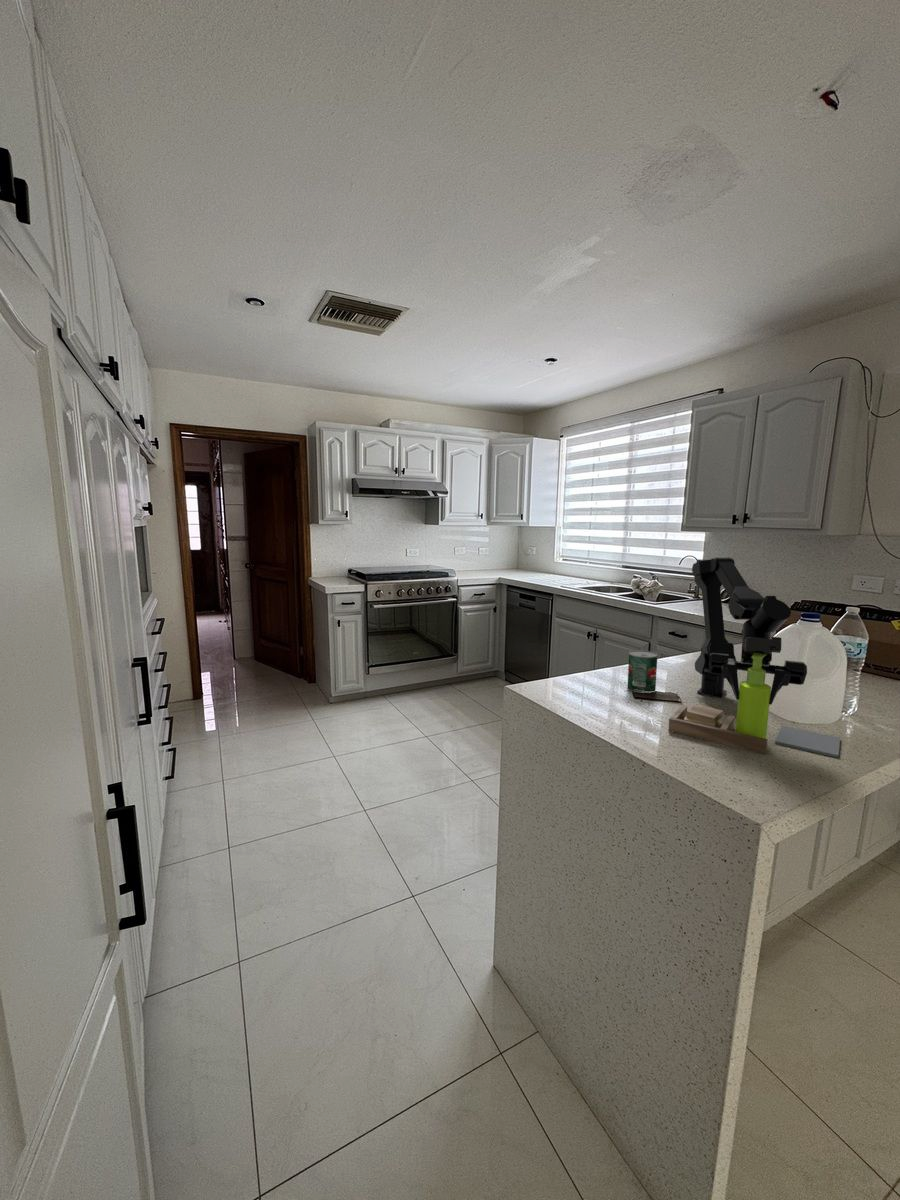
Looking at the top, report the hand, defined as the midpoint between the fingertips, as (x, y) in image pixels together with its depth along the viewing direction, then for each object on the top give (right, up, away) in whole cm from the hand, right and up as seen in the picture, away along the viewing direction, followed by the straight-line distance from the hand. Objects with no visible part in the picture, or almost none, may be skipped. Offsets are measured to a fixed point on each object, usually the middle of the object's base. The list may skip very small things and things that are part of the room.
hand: (753, 701), depth 108 cm
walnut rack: (-4, -9, +6) cm, 11 cm away
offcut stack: (-7, -9, +9) cm, 14 cm away
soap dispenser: (+1, -10, +3) cm, 10 cm away
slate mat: (+13, -9, +2) cm, 16 cm away
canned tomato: (-10, -5, +37) cm, 39 cm away
